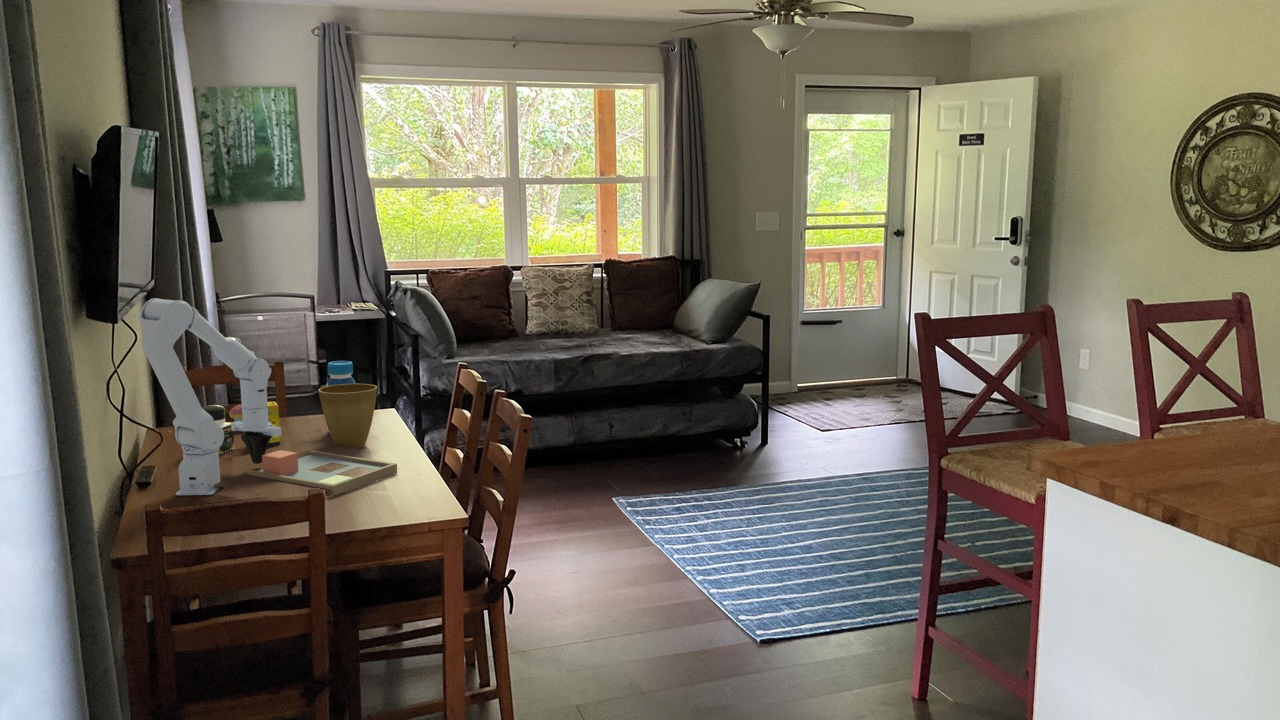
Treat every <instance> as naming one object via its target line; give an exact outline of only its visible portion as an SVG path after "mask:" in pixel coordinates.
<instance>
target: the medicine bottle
mask: <svg viewBox="0 0 1280 720" xmlns="http://www.w3.org/2000/svg"><path fill="white" fill-rule="evenodd" d="M201 407H202V406H201ZM202 409H204V410H205V411H206V412H207V413H208V414H209V415H211V416H212V417H213V420H214V421H215V423H216V424H218V425H219V426H220V427H221V428H222V429H223V431H224V441H223V443H222V445H221V446H220V447H219V451H218V455H219V454H220V455H222V454H224V453H223V452H225V453H227V452H229V451H228V450H230V451H231V449H232V450H234V449H235V448H236V447H235V433H234V432H235V431H232V429H231V423H232V422H227V421H226V410H225V407H224V406H222V405H218V404H213V405H210V404H209V405H205V406H203V407H202ZM226 451H227V452H226ZM221 453H222V454H221ZM220 455H219V456H220Z"/></svg>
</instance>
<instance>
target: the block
mask: <svg viewBox="0 0 1280 720" xmlns="http://www.w3.org/2000/svg"><path fill="white" fill-rule="evenodd" d="M298 458H299V456H298V452H296V451H295V452H294V451H288V450H283V449H281V450H277V451H272V452H269V453H265V455H262V469H263V472H267V473H272V474H278V475H284V476H285V475H288V474H292V473H295V472H298Z"/></svg>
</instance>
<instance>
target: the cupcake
mask: <svg viewBox="0 0 1280 720" xmlns="http://www.w3.org/2000/svg"><path fill="white" fill-rule="evenodd" d="M228 415H229V417H230V418H231V419H233V420H234V422H237V421H240V422H243V418H242V403H239V404H236V405H235V406H233V407H232V408H231V409H230V410H229V412H228Z"/></svg>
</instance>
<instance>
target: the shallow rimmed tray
mask: <svg viewBox="0 0 1280 720" xmlns="http://www.w3.org/2000/svg"><path fill="white" fill-rule="evenodd" d="M329 464H337V465H343V466H345V467H342V468H339V469H335V470H333V471H330V472H323V471H318V470H313V469H316V468H319V467H323V466H326V465H329ZM357 468H362V469H368V470H371V471H367V472H365V473H362V474H359V475H355V476H346V475H340V474H341V473H346V472H348V471H351V470H353V469H357ZM245 473H246V474H245V475H248V476H254V477H259V478H265V479H268V480H269V479H270V480H276V481H280V482H281V481H282V482H287V483H292V484H297V485H303V486H309V487H313V488H320V489H325V494H326V495H325V496H329V495H331V496H330V497H335V496H334V495H336V496H338V495H337V494H339V495H341V494H340V493H342V494H344V493H343V492H345V491H347V492H349V491H348V490H350V491H352V490H351V489H353V488H356V489H358V488H360V487H359V486H361V487H363V486H362V485H364V486H366V485H365V484H367V485H369V484H371V483H370V482H372V483H374V482H373V481H375V482H377V481H376V480H378V481H380V480H382V478H383V479H385V477H386V478H389V477H391V476H393V475H392V474H394V473H397V474H398V464H397V463H394V462H388V461H382V460H376V459H369V458H364V457H356V456H350V455H345V454H344V455H343V454H338V453H331V452H326V451H320V450H310V454H309V455H306V456H305V455H304V456H302V457H298V472H295V473H292V474H288V475H285V476H284V475H278V474H272V473H267V472H263V468H262V469H259V470H255V469H247V470H245ZM390 475H391V476H390ZM394 475H395V474H394ZM388 476H389V477H388ZM379 479H380V480H379ZM368 483H369V484H368ZM357 487H358V488H357ZM353 490H354V489H353ZM345 493H346V492H345ZM332 495H333V496H332Z"/></svg>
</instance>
